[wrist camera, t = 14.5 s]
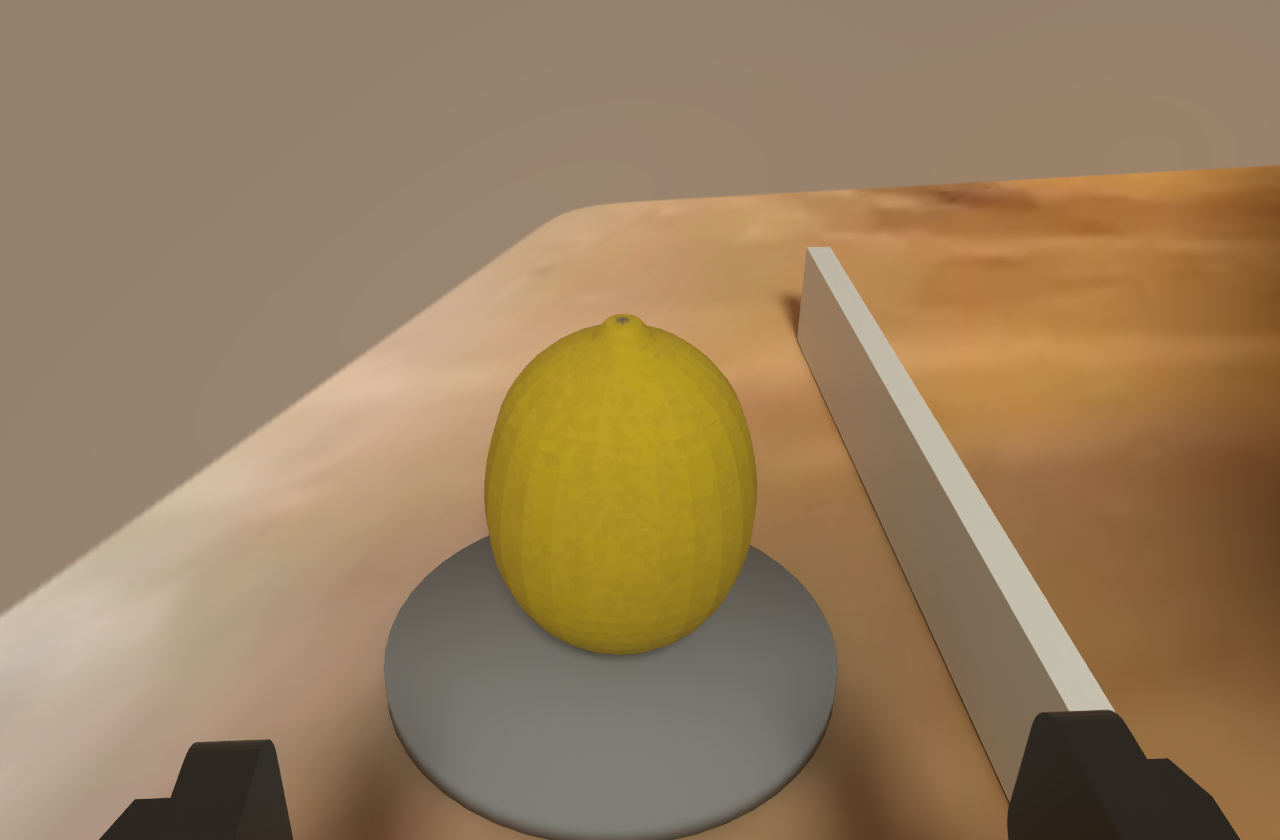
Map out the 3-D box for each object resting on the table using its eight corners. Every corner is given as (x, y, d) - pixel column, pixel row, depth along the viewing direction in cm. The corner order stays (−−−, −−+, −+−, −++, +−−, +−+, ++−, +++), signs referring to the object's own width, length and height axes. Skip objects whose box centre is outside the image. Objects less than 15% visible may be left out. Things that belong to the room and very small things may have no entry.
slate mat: (785, 524, 30) (787, 505, 30) (887, 830, 21) (892, 809, 21) (409, 535, 29) (407, 517, 29) (357, 860, 20) (354, 839, 20)
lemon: (503, 566, 27) (488, 260, 23) (730, 566, 27) (754, 262, 23) (481, 737, 22) (457, 389, 18) (756, 736, 23) (792, 392, 18)
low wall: (818, 339, 40) (830, 246, 38) (1130, 964, 19) (1186, 827, 17) (797, 339, 40) (806, 247, 38) (1085, 967, 19) (1136, 830, 17)
